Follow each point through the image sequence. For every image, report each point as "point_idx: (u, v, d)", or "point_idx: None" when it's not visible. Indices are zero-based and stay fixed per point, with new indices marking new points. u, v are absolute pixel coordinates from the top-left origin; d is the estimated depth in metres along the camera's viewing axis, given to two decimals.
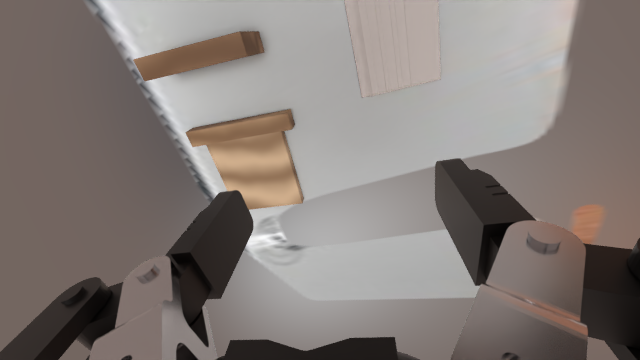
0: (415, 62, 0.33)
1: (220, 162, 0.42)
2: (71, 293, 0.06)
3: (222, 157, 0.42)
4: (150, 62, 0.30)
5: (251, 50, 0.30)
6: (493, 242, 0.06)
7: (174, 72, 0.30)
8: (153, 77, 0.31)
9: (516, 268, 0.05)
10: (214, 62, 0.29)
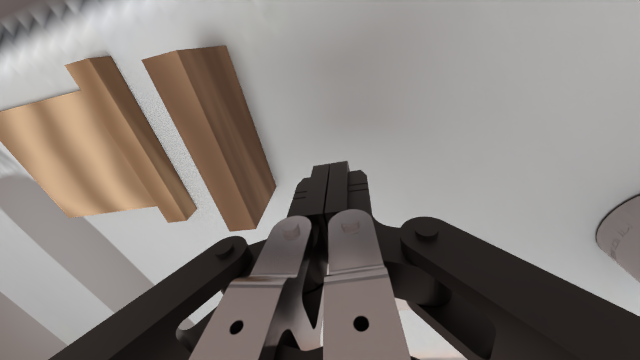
0: None
1: (64, 107, 0.23)
2: (222, 249, 0.07)
3: (76, 113, 0.24)
4: (182, 87, 0.16)
5: None
6: None
7: (179, 128, 0.17)
8: (155, 83, 0.16)
9: (342, 251, 0.06)
10: (211, 192, 0.20)
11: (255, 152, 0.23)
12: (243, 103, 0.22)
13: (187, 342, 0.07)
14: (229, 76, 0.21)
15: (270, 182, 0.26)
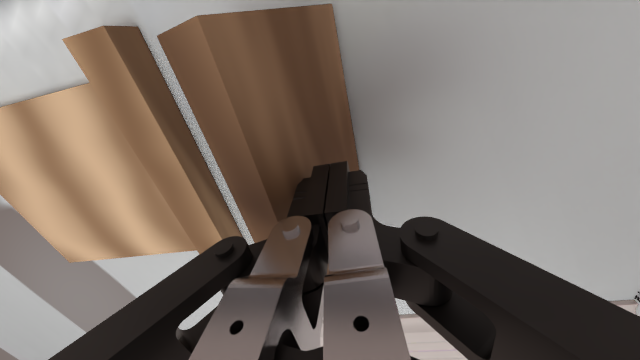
0: None
1: (62, 111, 0.15)
2: (222, 249, 0.07)
3: (80, 120, 0.15)
4: (213, 94, 0.08)
5: None
6: None
7: (217, 158, 0.10)
8: (180, 80, 0.09)
9: (342, 251, 0.06)
10: None
11: None
12: (341, 110, 0.13)
13: (187, 342, 0.07)
14: (324, 64, 0.11)
15: None
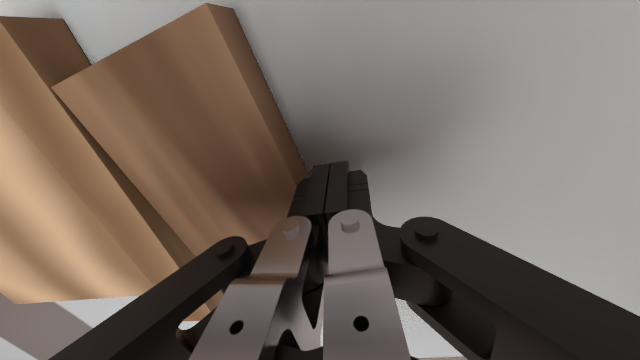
0: None
1: None
2: (222, 249, 0.07)
3: None
4: None
5: None
6: None
7: None
8: None
9: (342, 251, 0.06)
10: None
11: None
12: (257, 146, 0.10)
13: (187, 342, 0.07)
14: (206, 94, 0.09)
15: None
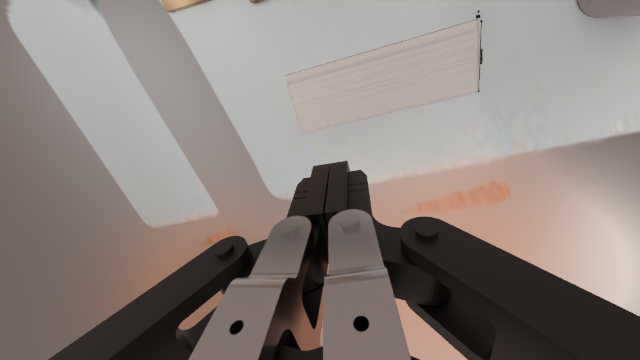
0: (312, 114, 0.46)
1: None
2: (222, 249, 0.07)
3: None
4: None
5: None
6: None
7: None
8: None
9: (342, 251, 0.06)
10: None
11: None
12: None
13: (187, 342, 0.07)
14: None
15: None
